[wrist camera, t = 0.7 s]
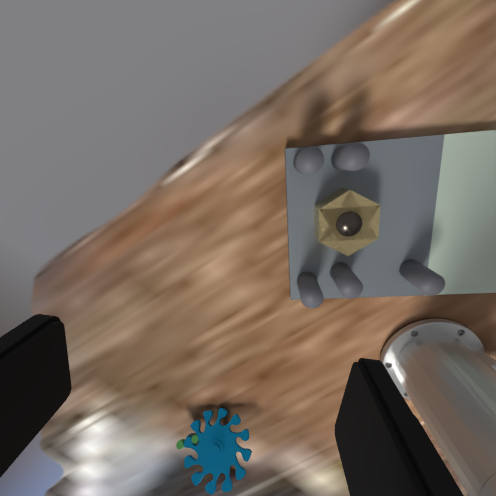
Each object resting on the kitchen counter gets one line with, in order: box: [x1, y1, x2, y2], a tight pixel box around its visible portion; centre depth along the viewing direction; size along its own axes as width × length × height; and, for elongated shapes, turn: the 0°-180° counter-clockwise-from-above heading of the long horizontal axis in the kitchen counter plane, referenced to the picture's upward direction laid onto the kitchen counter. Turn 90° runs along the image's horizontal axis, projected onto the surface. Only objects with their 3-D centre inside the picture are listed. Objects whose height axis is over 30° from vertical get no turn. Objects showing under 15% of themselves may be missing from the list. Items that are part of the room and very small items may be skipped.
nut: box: [314, 188, 380, 256], centre depth 28 cm, size 6×7×3 cm
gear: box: [176, 408, 252, 495], centre depth 40 cm, size 11×6×10 cm
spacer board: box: [285, 130, 496, 308], centre depth 27 cm, size 34×18×6 cm, turn 95°
